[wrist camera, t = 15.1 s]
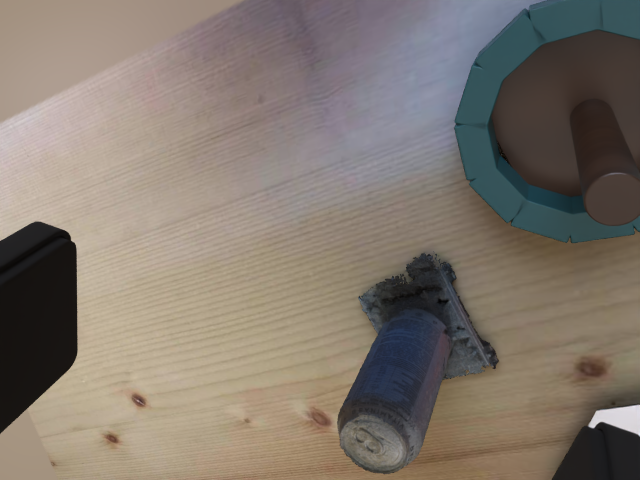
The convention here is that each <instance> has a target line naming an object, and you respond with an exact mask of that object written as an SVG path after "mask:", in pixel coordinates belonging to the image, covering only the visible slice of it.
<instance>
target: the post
mask: <svg viewBox="0 0 640 480" xmlns="http://www.w3.org/2000/svg"><path fill="white" fill-rule="evenodd" d="M491 117H492V121H493V126H494V131H495V135H496V140H497V142H498V144H499V146H500V148H501V149H502V151H503V153H504V155H505V157H506V158H507V160H508V162H509V164H510V166H511V167H512V168H513V169H514V170H515V171H516V172H517V173H518V174H519V175H520V176H521V177H522V178H523V179H524V180H525V181H526V182H527V183H528V184H529V185H532V186H536V187H539V188H542V189H546V190H549V191H552V192H556V193H559V194H562V195H566V196H569V197H574V196H580V195H582V197H583V203H584V207H585V210H586V212H587V214H588V215H589V216H590V217H591V218H592V219H593V220H594V221H596V222H598V223H600V224H603V225H607V226H620V225H625V224H628V223H630V222H632V221H633V220H635V219H636V218H638V217H639V216H640V40H637V39H633V38H629V37H625V36H621V35H617V34H613V33H609V32H605V31H601V30H594V31H591V32H587V33H583V34H579V35H576V36H572V37H568V38H565V39H561V40H557V41H554V42H550V43H546V44H543V45H542V46H541V47H539V48H538V49H537V50H536V51H535V52H534V53H533V54H532V55H531V56H530V57H528V58H527V59H526V60H525V61H524V62H523V63H522V64H521V65H520V66H519V67H517V68H516V69H515V70H514V71H513V72H512V73H511V74H510V75H509V76H508V77H506V78H505V79H504V80H503V83H502V86H501V89H500V92H499V95H498V97H497V100H496V103H495V106H494V109H493V112H492V115H491Z"/></svg>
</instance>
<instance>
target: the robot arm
mask: <svg viewBox="0 0 640 480" xmlns="http://www.w3.org/2000/svg"><path fill="white" fill-rule="evenodd" d="M77 350H78V349H77V253H76V245H75V243H74V242H72V241H71V237H70V235H69V233H68V232H66V231H65V230H62V229H59V228H56V227H54V226H51V225H48V224H45V223H42V222H34V223H31V224H29V225H28V226H26V227H24V228H22V229H21V230H19V231H17V232H15V233H14V234H12V235H10V236H8V237H7V238H5V239H3V240H1V241H0V433H1V432H3V431H4V430H5V429H6V428H7V427H8V426H9V425H10V424H11V423H12V422H13V421H14V420H15V419H16V418H18V417H19V416H20V415H21V414H22V413H23V412H24V411H25V410H26V409H27V408H28V407H29V406H30V405H31V404H32V403H34V402H35V401H36V400H37V399H38V398H39V397H40V396H41V395H42V394H43V393H44V392H45V391H46V390H47V389H49V388H50V387H51V386H52V385H53V384H54V383H55V382H56V381H57V380H58V379H59V378H60V377H61V376H62V375H64V374H65V373H66V372H67V371H68V370H69V369H70V367H71V366H72V365H73V363H74V361H75V359H76V356H77ZM552 480H640V436H639V435H638V434H636V433H633V432H630V431H627V430H624V429H621V428H619V427H616V426H613V425H610V424H607V423H605V422H599V423H598V424H597V425H596V426H595V427H594V428H591V427H589V426H584V427H583V428H582V429H581V431H580V432H579V434H578V436H577V437H576V439H575V441H574V442H573V444H572V446H571V448H570V449H569V451H568V453H567V454H566V456H565V458H564V460H563V461H562V463H561V465H560V467H559V468H558V470H557V472H556V473H555V475H554V477H553V479H552Z"/></svg>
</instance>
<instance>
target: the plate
mask: <svg viewBox="0 0 640 480" xmlns="http://www.w3.org/2000/svg"><path fill="white" fill-rule="evenodd" d="M599 422H605V423H607V424H610V425H613V426H616V427H619V428H621V429H624V430H627V431H630V432H633V433H636V434H638V435H639V436H640V404H634V405H627V406H619V407H612V408H605V409H598V410H597V411H596V413H595V414H594V416H593V418H592V420H591V422H590V423H589V425H588V426H589V427H591V428H594V427H595V426H596V425H597V424H598V423H599Z"/></svg>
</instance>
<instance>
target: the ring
mask: <svg viewBox="0 0 640 480" xmlns="http://www.w3.org/2000/svg"><path fill="white" fill-rule="evenodd" d="M594 30H601V31H605V32H609V33H613V34H617V35H621V36H625V37H629V38H633V39H637V40H640V0H546V1H543V2H540V3H536V4H533V5H530V7H529V11H528V10H527V9H524V10H523V11H522V12H521V13H520V14H519V15H518V16H516V17H515V18H514V19H513V20H512V21H511V22H510V23H509V24H508V25H507V26H506V27H505V28H504V29H503V30H502V31H501V32H500V33H499V34H498V35H497V36H496V37H495V38H494V39H493V40H492V41H491V42H490V43H489V44H488V45H486V46H485V47H484V48H483V49H482V50H481V51H480V52H479V54H478V56H477V58H476V59H475V61H474V63H473V65H472V67H471V70H470V73H469V77H468V80H467V83H466V86H465V89H464V92H463V96H462V99H461V102H460V105H459V108H458V111H457V115H456V118H455V123H456V125H455V127H454V129H455V133H456V138H457V142H458V146H459V150H460V154H461V158H462V163H463V167H464V171H465V175H466V179H467V180H470V183H469V185H470V186H471V187H472V188H473V189H474V190H475V191H476V192H477V193H478V194H479V195H480V196H481V197H482V198H483V199H484V200H485V201H486V202H487V203H488V204H489V205H490V206H491V207H492V208H493V209H494V210H495V211H496V212H497V214H498V215H499V216H500V217H501V218H502V219H503V220H504V221H505V222H506V223H509V222H510V221H511V226H514V227H517V228H520V229H523V230H527V231H530V232H533V233H536V234H540V235H543V236H546V237H549V238H552V239H556V240H559V241H562V242H565V243H567V242H568V240H569V238H570V239H571V243H578V242H585V241H592V240H599V239H606V238H613V237H620V236H627V235H634V234H635V232H634V228H635V229H636V230H637V231H638V232H640V216H639V217H638V218H636V219H635V220H633V221H632V222H630V223H628V224H625V225H620V226H607V225H603V224H600V223H598V222H596V221H594V220H593V219H592V218H591V217H590V216H589V215H588V214H587V212H586V210H585V207H584V203H583V197H582V195H580V196H574V197H569V196H566V195H562V194H559V193H556V192H552V191H549V190H546V189H542V188H539V187H536V186H532V185H529V184H528V183H527V182H526V181H525V180H524V179H523V178H522V177H521V176H520V175H519V174H518V173H517V172H516V171H515V170H514V169H513V168H512V167H511V166H510V165H509V164H508V163H507V162H506V161H505V160H504V159H503V157H502V156H501V155H500V154H499V149H498V144H497V140H496V135H495V131H494V126H493V121H492V117H491V115H492V112H493V109H494V106H495V103H496V100H497V97H498V95H499V92H500V89H501V86H502V83H503V80H504V79H505V78H506V77H508V76H509V75H510V74H511V73H512V72H513V71H514V70H515V69H516V68H517V67H519V66H520V65H521V64H522V63H523V62H524V61H525V60H526V59H527V58H528V57H530V56H531V55H532V54H533V53H534V52H535V51H536V50H537V49H538V48H539V47H541V46H542V45H543V44H546V43H550V42H554V41H557V40H561V39H565V38H568V37H572V36H576V35H579V34H583V33H587V32H591V31H594Z"/></svg>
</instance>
